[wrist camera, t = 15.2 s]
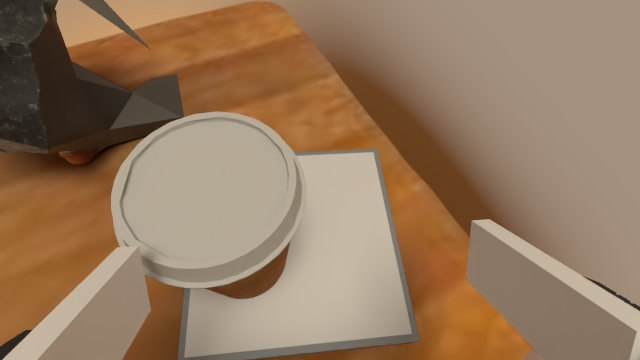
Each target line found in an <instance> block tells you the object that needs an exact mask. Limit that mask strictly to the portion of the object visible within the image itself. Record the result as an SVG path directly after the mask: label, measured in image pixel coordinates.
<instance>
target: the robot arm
mask: <svg viewBox="0 0 640 360" xmlns="http://www.w3.org/2000/svg"><path fill="white" fill-rule="evenodd" d="M466 280H467V281H468V282H469V283H470V284H471V285H472V286H473V287H474V288H475V289H476V290H477V291H478V292H479V293H480V294H481V295H482V296H483V297H484V298H485V299H486V300H487V301H488V302H489V303H490V304H491V305H492V306H493V307H494V308H495V309H496V310H497V311H498V312H499V313H500V314H501V315H502V316H503V317H504V318H505V319H506V320H507V321H508V322H509V323H510V324H511V325H512V326H513V327H514V328H515V329H516V330H517V331H518V332H519V333H520V334H521V335H522V336H523V337H524V338H525V339H526V340H527V341H528V342H529V343H530V344H531V345H532V346H533V347H534V348H535V349H536V350H537V351H538V352H539V353H540V354H541V355H542V356H543V357H544V358H545V359H546V360H640V307H639V306H637V305H636V304H631V303H630V301H629V300H627V299H626V298H624V297H622V296H620V295H617V294H616V292H614V291H612V290H611V289H609V288H607V287H606V286H604V285H602V284H600V283H599V282H596V281H594V280H591V279H589V278H586V277H584V276H581V275H580V274H578V273H576V272H575V271H573V270H571V269H570V268H568V267H567V266H565V265H563V264H561V263H560V262H558V261H557V260H555V259H553V258H552V257H550V256H548V255H547V254H545V253H543V252H542V251H540V250H539V249H537V248H535V247H534V246H532V245H530V244H529V243H527V242H526V241H524V240H522V239H521V238H519V237H517V236H516V235H514V234H512V233H511V232H509V231H507V230H506V229H504V228H503V227H501V226H499V225H498V224H496V223H494V222H493V221H491V220H490V219H487V220H473V221H472V224H471V234H470V244H469V255H468V265H467V275H466ZM150 311H151V308H150V303H149V297H148V292H147V287H146V281H145V276H144V271H143V265H142V260H141V255H140V249H139V246H132V247H119V248H116V249H115V250H114V251H113V252H112V253H111V254H110V255H109V256H108V257H107V258H106V259H105V260H104V261H103V262H102V263H101V264H100V265H99V266H98V267H97V268H96V269H95V270H94V271H93V272H92V273H91V274H90V275H89V276H88V277H87V278H85V279H84V280H83V281H82V282H81V283H80V284H79V285H78V286H77V287H76V288H75V289H74V290H73V291H72V292H71V293H70V294H69V295H68V296H67V297H66V298H65V299H64V300H63V301H62V302H61V303H60V304H59V305H58V306H57V307H56V308H55V309H54V310H53V311H52V312H51V313H50V314H49V315H48V316H47V317H46V318H45V319H44V320H42V321H41V322H40V323H39V324H38V325H37V326H36V327H35V328H34V329H33V330H26V331H24V332H22V333H21V334H19V335H17V336H16V337H14V338H13V339H11V340H10V341H8V342H6V343H5V344H3V345H2V346H1V347H0V360H122V359H123V357H124V355H125V354H126V352H127V350H128V349H129V347H130V345H131V343H132V342H133V340H134V338H135V336H136V335H137V333H138V331H139V330H140V328H141V326H142V324H143V323H144V321H145V319H146V317H147V316H148V314H149V312H150Z"/></svg>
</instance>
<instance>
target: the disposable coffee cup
mask: <svg viewBox="0 0 640 360" xmlns="http://www.w3.org/2000/svg"><path fill="white" fill-rule="evenodd" d="M305 205H306V180H305V175H304V171H303V169H302V167H301V164H300V162H299V160H298V158H297V156H296V155H295V153H294V152H293V151H292V149H291V148H290V147H289V146H288V145H287V144H286V143H285V142H284V141H283V140H282V138H281V137H280V136H279V135H278V134H277V133H276V132H275V131H274V130H272V129H271V128H270V127H269V126H267V125H265V124H263V123H262V122H260V121H258V120H256V119H253V118H250V117H247V116H244V115H241V114H236V113H226V112H209V113H201V114H193V115H190V116H187V117H184V118H181V119H178V120H175V121H172V122H169V123H168V124H166V125H164V126H162V127H161V128H159V129H157V130H155V131H154V132H152V133H151V134H149V135H148V136H147V137H146V138H144V139H143V140H142V141H141V142H140V143H139V144H138V145H137V146H136V147H135V148H134V150H133V151H132V152H131V153H130V154H129V156H128V157H127V158H126V159H125V161H124V162H123V163H122V165H121V167H120V169H119V171H118V174H117V176H116V178H115V180H114V185H113V189H112V194H111V211H112V216H113V224H114V230H115V235H116V237H117V240H118V242H119V245H120V247H132V246H139V249H140V255H141V260H142V265H143V271H144V274H145V275H147V276H149V277H151V278H153V279H155V280H157V281H160V282H162V283H165V284H168V285H171V286H175V287H182V288H191V289H202V288H204V289H207V290H210V291H213V292H216V293H219V294H221V295H225V296H227V297H230V298H234V299H249V298H254V297H256V296H259V295H261V294H263V293H265V292H266V291H268V290H269V289H270V288H271V287H273V286H274V285H275V284H276V282H277V281H278V279H279V278H280V277H281V275H282V273H283V271H284V267H285V264H286V259H287V254H288V249H289V245H290V241H291V239H292V238H293V236H294V234H295V233H296V231H297V229H298V227H299V225H300V223H301V219H302V216H303V213H304V210H305Z"/></svg>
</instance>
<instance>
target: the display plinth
mask: <svg viewBox="0 0 640 360" xmlns="http://www.w3.org/2000/svg"><path fill="white" fill-rule="evenodd" d="M295 155H296V156H297V158H298V160H299V162H300V164H301V167H302V169H303V171H304V175H305V180H306V205H305V210H304V213H303V216H302V219H301V223H300V225H299V227H298V229H297V231H296V233H295V234H294V236H293V238H292V239H291V241H290V245H289V249H288V254H287V259H286V264H285V267H284V271H283V273H282V275H281V277H280V278H279V279H278V281H277V282H276V284H275V285H274V286H273V287H271V288H270V289H269V290H268V291H266V292H265V293H263V294H261V295H259V296H256V297H254V298H249V299H234V298H230V297H227V296H225V295H221V294H219V293H216V292H213V291H210V290H207V289H204V288H202V289H191V288H184V298H183V308H182V318H181V328H180V338H179V348H178V358H177V360H259V359H269V358H278V357H287V356H297V355H306V354H315V353H324V352H334V351H343V350H352V349H362V348H371V347H380V346H390V345H399V344H408V343H413V342H417V341H420V340H419V336H418V331H417V327H416V322H415V318H414V313H413V309H412V304H411V300H410V295H409V291H408V286H407V282H406V277H405V273H404V268H403V264H402V259H401V255H400V250H399V246H398V241H397V237H396V232H395V228H394V223H393V219H392V214H391V210H390V205H389V201H388V196H387V192H386V187H385V183H384V178H383V174H382V169H381V165H380V160H379V156H378V151H377V149H364V150H343V151H321V152H300V153H295Z"/></svg>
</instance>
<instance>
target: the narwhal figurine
mask: <svg viewBox="0 0 640 360" xmlns="http://www.w3.org/2000/svg"><path fill="white" fill-rule="evenodd" d="M57 1H58V0H0V150H1V151H3V152H5V153H8V152H27V153H43V154H50V153H57V152H58V153H59V154H60V156H61V157H63V158H65V159H66V160H67V161H68V162H69V163H71V164H74V165H86V164H87V163H88V162H90V161H91V160H92V159H93V158H94V157H95V156H96V155H97V154H98V153H99V152H100V151H102V150H103V149H105V148H106V147H108V146H110V145H113V144H117V143H121V142H125V141H128V140H132V139H136V138H140V137H144V136H147V135H149V134H151V133H152V132H154V131H155V130H157V129H159V128H161V127H162V126H164V125H166V124H168V123H169V122H172V121H175V120H178V119H181V118H184V115H183V109H182V103H181V98H180V92H179V86H178V80H177V74H174V75H168V76H162V77H157V78H152V79H150V80H149V81H147V82H145V83H144V84H142V85H141V86H139V87H138V88H136V89H135V90H133V91H132V92H130V91H128V90H126V89H124V88H122V87H120V86H118V85H116V84H115V83H113V82H111V81H109V80H107V79H105V78H103V77H101V76H99V75H97V74H95V73H93V72H92V71H90V70H88V69H86V68H84V67H82V66H80V65H78V64H76V63H74V62H72V61H71V59H70V56H69V54H68V51H67V48H66V46H65V43H64V40H63V37H62V35H61V32H60V29H59V26H58V24H57V18H56V10H55V6H56V4H57ZM80 1H82V2H83V3H84V4H86V5H87V6H89V7H90V8H91V9H93V10H94V11H96V12H97V13H99V14H100V15H102V16H103V17H104V18H106V19H107V20H109V21H110V22H112V23H113V24H114V25H116V26H117V27H119V28H120V29H122V30H123V31H125V32H126V33H127V34H129V35H130V36H132V37H133V38H135V39H136V40H138V41H139V42H140V43H142V44H143V45H145V46H146V47H148V46H147V45H146V44H145V43H144V42H143V41H142V40H141V39H140V38H139V37H138V36H137V35H136V34H135V33H134V32H133V31H132V30H131V29H130V27H129V26H128V25H126V23H125V22H124V21H123V20H122V19H121V18H120V17H119V16H118V15H117V14H116V13H115V12H114V11H113V10H112V9H111V8H110V7H109V6H108V4H107V3H105V1H104V0H80ZM148 48H149V47H148ZM149 49H150V48H149Z"/></svg>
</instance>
